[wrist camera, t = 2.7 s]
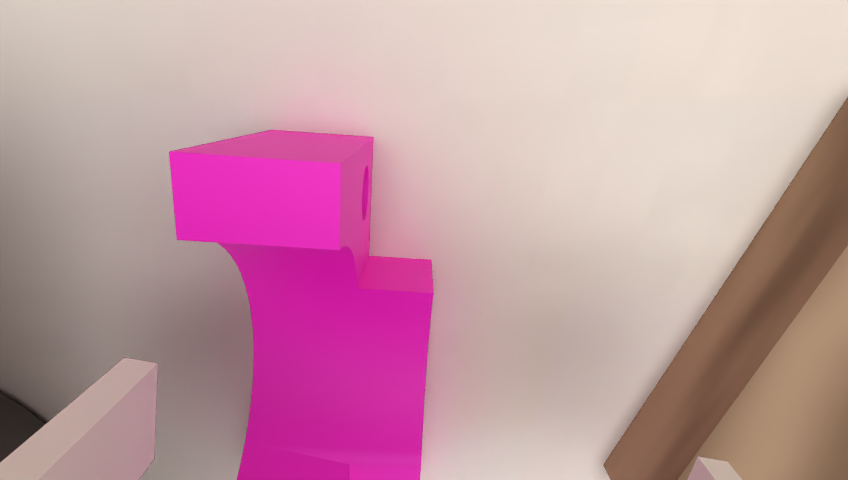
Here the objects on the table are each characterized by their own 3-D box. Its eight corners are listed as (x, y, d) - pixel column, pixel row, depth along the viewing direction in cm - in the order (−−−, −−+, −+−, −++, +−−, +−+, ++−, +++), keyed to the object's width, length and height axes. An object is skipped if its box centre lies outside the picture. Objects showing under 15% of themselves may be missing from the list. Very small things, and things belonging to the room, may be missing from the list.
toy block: (414, 465, 22) (411, 645, 15) (281, 458, 22) (211, 636, 15) (440, 141, 18) (454, 171, 10) (273, 129, 17) (169, 151, 10)
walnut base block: (600, 458, 22) (638, 533, 18) (840, 93, 17) (959, 91, 14) (774, 522, 23) (844, 606, 19) (1043, 197, 19) (1205, 223, 15)
